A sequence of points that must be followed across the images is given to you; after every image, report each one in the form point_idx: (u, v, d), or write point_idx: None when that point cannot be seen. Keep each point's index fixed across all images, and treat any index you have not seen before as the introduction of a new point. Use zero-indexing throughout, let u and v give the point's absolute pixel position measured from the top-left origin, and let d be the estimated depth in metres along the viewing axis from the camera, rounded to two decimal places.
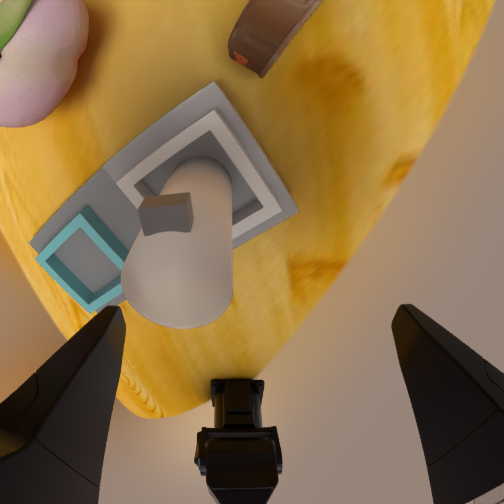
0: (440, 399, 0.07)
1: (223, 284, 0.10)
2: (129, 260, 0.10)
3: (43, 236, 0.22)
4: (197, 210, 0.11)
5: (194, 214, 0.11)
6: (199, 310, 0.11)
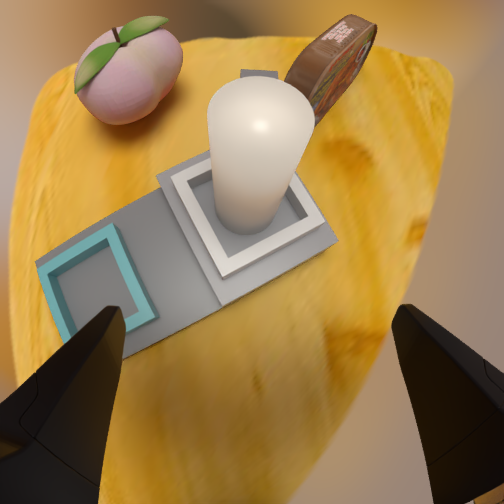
0: (440, 399, 0.07)
1: (306, 114, 0.11)
2: (226, 86, 0.11)
3: (55, 256, 0.20)
4: None
5: None
6: (281, 136, 0.10)
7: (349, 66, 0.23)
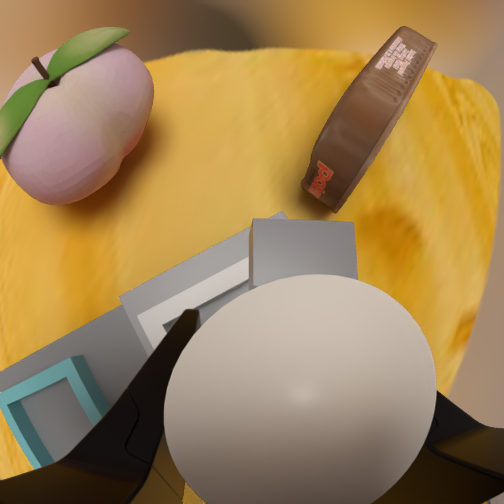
0: None
1: (422, 398, 0.04)
2: (212, 328, 0.04)
3: (13, 375, 0.13)
4: None
5: None
6: (357, 476, 0.03)
7: None
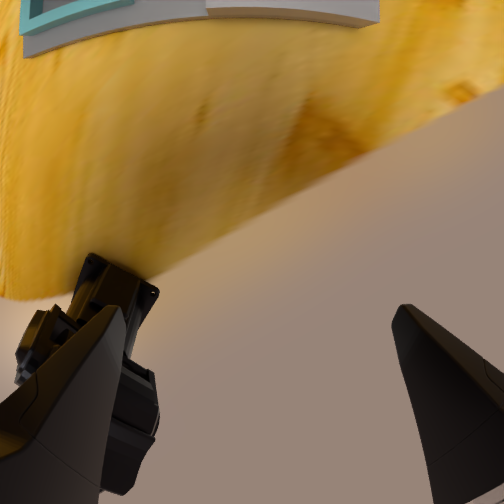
0: (440, 399, 0.07)
1: None
2: None
3: None
4: None
5: None
6: None
7: None
